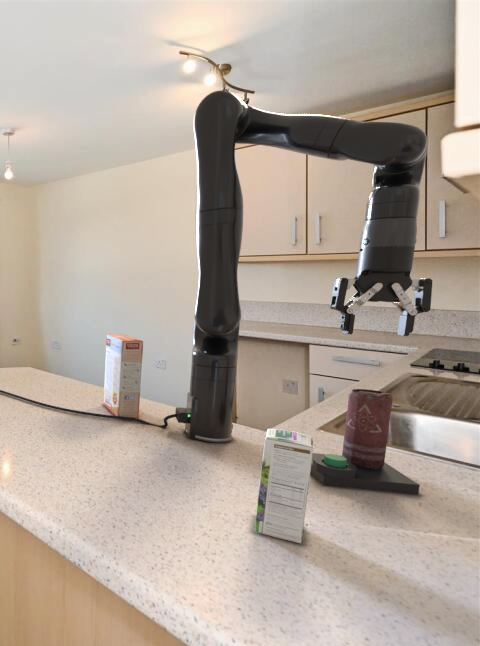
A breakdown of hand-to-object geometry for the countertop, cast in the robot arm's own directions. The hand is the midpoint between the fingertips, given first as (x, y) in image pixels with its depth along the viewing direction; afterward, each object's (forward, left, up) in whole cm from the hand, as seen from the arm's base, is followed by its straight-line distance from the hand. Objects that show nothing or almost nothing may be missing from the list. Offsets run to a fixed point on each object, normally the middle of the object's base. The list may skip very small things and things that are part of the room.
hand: (374, 334), depth 86 cm
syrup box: (-22, -28, -27) cm, 45 cm away
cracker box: (-42, +30, -27) cm, 58 cm away
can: (0, -1, -25) cm, 25 cm away
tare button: (-7, -7, -23) cm, 25 cm away
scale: (-2, -3, -27) cm, 27 cm away
